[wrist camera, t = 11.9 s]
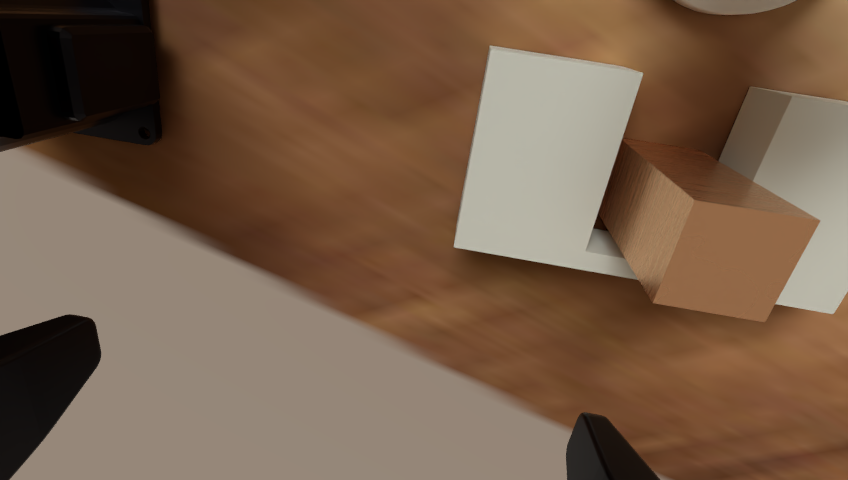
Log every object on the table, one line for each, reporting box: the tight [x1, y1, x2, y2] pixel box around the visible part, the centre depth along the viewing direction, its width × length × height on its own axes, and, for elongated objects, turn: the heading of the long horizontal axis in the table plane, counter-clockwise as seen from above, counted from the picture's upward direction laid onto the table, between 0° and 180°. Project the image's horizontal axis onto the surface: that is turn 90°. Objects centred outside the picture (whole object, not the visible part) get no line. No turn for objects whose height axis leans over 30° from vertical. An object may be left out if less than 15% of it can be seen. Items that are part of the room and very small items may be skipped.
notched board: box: [454, 46, 848, 314], centre depth 17 cm, size 14×7×2 cm, turn 82°
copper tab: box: [598, 138, 820, 322], centre depth 15 cm, size 3×3×7 cm
